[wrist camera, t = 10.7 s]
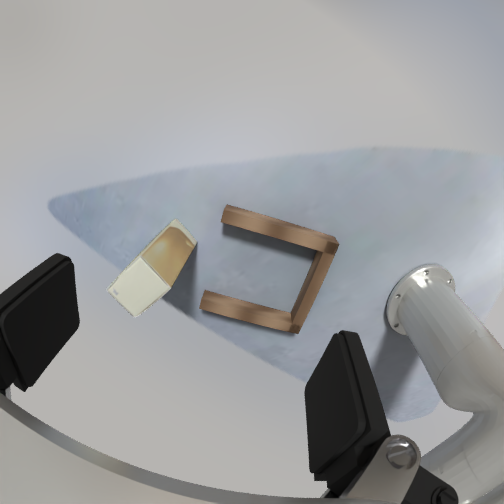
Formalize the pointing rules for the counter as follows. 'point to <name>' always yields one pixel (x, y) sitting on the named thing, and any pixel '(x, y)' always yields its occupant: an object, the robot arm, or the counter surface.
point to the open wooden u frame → (311, 285)
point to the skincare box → (153, 269)
